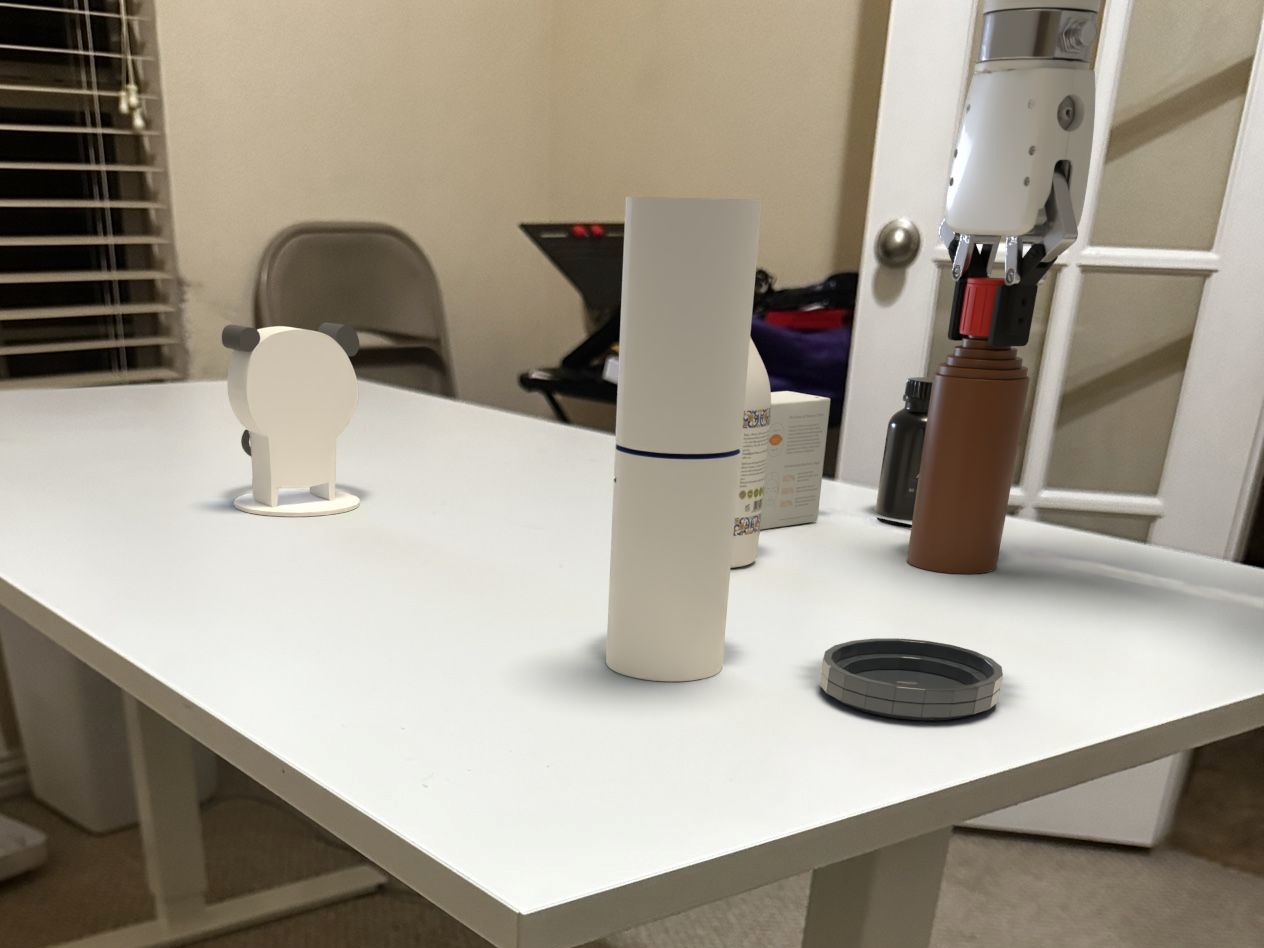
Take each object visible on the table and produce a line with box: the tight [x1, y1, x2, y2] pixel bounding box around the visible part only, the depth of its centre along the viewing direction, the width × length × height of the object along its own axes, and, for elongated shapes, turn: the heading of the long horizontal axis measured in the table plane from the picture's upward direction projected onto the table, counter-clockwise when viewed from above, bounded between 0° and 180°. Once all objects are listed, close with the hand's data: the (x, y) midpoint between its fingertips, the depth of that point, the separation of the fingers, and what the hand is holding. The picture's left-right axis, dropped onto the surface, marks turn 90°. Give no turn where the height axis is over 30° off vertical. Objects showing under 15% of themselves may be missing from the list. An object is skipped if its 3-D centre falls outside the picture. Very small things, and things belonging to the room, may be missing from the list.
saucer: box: [819, 637, 1004, 721], centre depth 79 cm, size 10×10×2 cm
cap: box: [959, 277, 1006, 337], centre depth 101 cm, size 4×4×4 cm
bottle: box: [906, 335, 1031, 575], centre depth 105 cm, size 7×7×20 cm
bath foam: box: [730, 336, 772, 569], centre depth 104 cm, size 7×7×20 cm
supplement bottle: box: [874, 376, 933, 529], centre depth 121 cm, size 7×7×12 cm
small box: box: [759, 390, 831, 531], centre depth 120 cm, size 8×6×10 cm
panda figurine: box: [221, 321, 361, 518], centre depth 122 cm, size 12×11×15 cm
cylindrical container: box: [605, 196, 763, 682], centre depth 78 cm, size 7×7×25 cm
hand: (986, 340), depth 102 cm, fingers closed on cap, 4 cm apart
